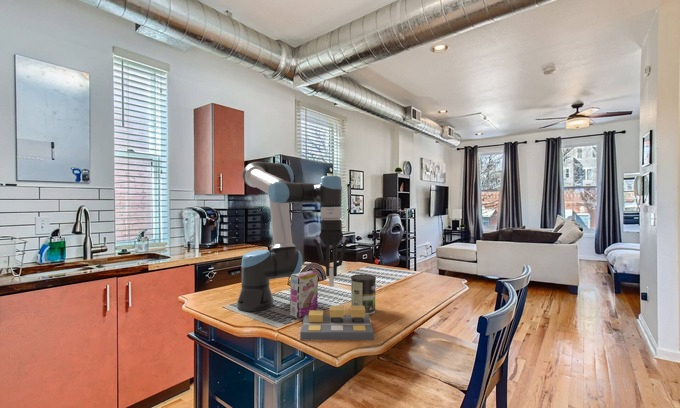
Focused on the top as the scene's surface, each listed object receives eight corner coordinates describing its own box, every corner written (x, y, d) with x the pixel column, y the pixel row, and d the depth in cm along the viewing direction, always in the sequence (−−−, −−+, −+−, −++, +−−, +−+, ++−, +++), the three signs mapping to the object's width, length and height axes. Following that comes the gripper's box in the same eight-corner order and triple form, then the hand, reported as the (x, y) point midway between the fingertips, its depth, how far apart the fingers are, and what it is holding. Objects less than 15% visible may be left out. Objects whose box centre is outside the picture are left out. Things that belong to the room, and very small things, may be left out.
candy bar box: (298, 319, 121) (298, 276, 121) (289, 316, 124) (289, 274, 124) (318, 311, 130) (318, 271, 130) (309, 309, 133) (309, 270, 133)
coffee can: (376, 307, 135) (376, 274, 135) (374, 316, 125) (374, 280, 125) (352, 305, 138) (353, 273, 137) (348, 314, 127) (348, 279, 127)
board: (300, 339, 103) (300, 331, 103) (304, 321, 119) (304, 314, 119) (373, 339, 103) (373, 331, 103) (368, 321, 119) (368, 314, 119)
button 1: (308, 328, 111) (308, 315, 111) (309, 323, 116) (309, 310, 116) (322, 328, 111) (322, 315, 111) (323, 323, 116) (323, 310, 116)
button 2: (329, 323, 111) (329, 310, 111) (330, 318, 116) (330, 305, 116) (344, 323, 111) (344, 310, 111) (343, 318, 116) (343, 305, 116)
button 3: (351, 323, 111) (351, 310, 111) (350, 318, 116) (350, 305, 116) (365, 323, 111) (365, 310, 111) (364, 318, 116) (364, 305, 116)
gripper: (311, 219, 110) (312, 288, 109) (349, 219, 109) (349, 288, 109) (314, 219, 117) (314, 283, 117) (349, 218, 117) (349, 283, 116)
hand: (331, 285), depth 113 cm, fingers closed
